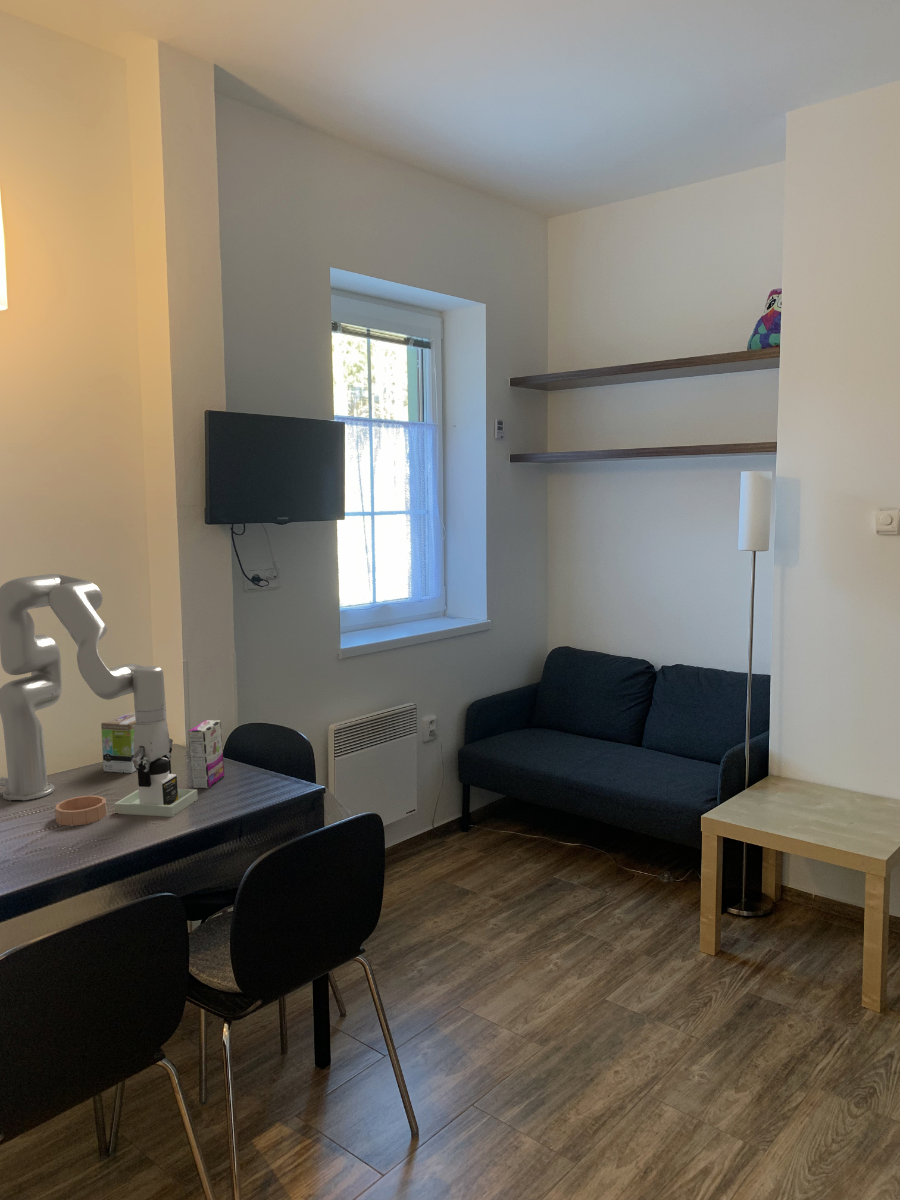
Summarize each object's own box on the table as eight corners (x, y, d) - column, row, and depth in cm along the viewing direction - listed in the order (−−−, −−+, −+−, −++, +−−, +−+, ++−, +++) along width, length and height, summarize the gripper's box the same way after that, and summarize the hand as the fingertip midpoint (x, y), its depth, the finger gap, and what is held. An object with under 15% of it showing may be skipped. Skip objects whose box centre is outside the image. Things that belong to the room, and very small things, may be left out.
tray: (114, 813, 229) (114, 803, 228) (143, 796, 241) (142, 786, 241) (172, 816, 225) (171, 806, 225) (197, 799, 238) (197, 789, 237)
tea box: (133, 773, 262) (129, 723, 260) (102, 772, 264) (99, 722, 262) (161, 758, 276) (158, 711, 275) (132, 757, 279) (128, 710, 277)
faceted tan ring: (46, 824, 223) (45, 810, 222) (75, 807, 234) (74, 794, 233) (88, 826, 220) (87, 812, 220) (115, 810, 231) (114, 796, 231)
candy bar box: (208, 775, 258) (204, 719, 256) (225, 776, 257) (221, 719, 255) (191, 788, 247) (187, 730, 245) (208, 789, 246) (204, 730, 244)
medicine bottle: (164, 809, 229) (161, 763, 227) (139, 808, 230) (135, 762, 229) (178, 800, 235) (175, 755, 234) (154, 799, 237) (151, 754, 236)
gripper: (155, 706, 240) (160, 769, 242) (118, 723, 223) (123, 790, 225) (181, 707, 238) (185, 770, 240) (145, 724, 221) (150, 792, 223)
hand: (155, 780), depth 232 cm, fingers open, 9 cm apart
